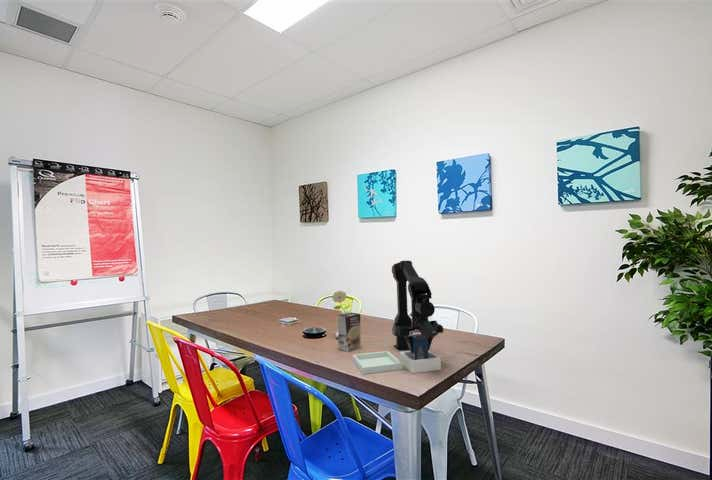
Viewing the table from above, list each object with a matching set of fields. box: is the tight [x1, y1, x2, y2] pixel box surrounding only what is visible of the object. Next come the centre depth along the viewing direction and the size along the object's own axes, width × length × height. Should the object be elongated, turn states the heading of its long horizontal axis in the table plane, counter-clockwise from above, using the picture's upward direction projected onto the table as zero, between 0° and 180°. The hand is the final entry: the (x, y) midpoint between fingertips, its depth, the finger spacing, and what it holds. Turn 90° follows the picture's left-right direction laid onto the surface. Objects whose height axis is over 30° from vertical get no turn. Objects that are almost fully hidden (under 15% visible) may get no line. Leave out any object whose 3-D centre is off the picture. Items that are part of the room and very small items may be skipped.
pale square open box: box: [399, 349, 442, 374], centre depth 136 cm, size 12×12×4 cm
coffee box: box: [337, 312, 362, 352], centre depth 162 cm, size 9×6×16 cm
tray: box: [352, 350, 403, 375], centre depth 139 cm, size 16×16×2 cm
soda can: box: [411, 333, 429, 360], centre depth 136 cm, size 7×7×12 cm
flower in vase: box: [331, 290, 351, 338], centre depth 181 cm, size 13×11×25 cm
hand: (419, 351), depth 136 cm, fingers closed on soda can, 7 cm apart
